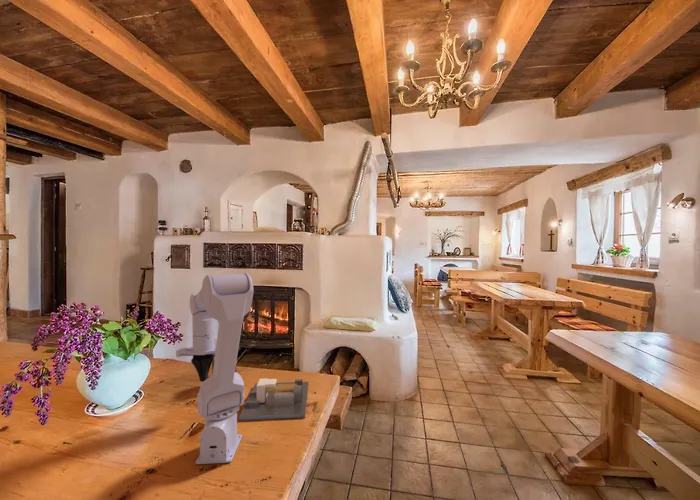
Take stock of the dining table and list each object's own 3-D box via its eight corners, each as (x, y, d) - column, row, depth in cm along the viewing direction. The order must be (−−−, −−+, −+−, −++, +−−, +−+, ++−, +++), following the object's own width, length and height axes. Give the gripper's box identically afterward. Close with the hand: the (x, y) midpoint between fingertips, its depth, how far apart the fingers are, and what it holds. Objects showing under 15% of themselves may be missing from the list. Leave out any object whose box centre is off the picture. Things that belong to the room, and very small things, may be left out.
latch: (274, 401, 91) (274, 385, 91) (256, 402, 91) (256, 385, 91) (277, 394, 96) (277, 377, 96) (260, 394, 95) (260, 378, 95)
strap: (299, 390, 93) (299, 386, 93) (265, 392, 92) (265, 389, 92) (300, 385, 95) (300, 382, 95) (267, 388, 95) (267, 385, 95)
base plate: (304, 417, 85) (304, 397, 85) (238, 420, 84) (238, 400, 84) (308, 384, 105) (308, 368, 105) (255, 387, 104) (255, 370, 104)
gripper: (233, 329, 91) (233, 372, 91) (184, 330, 90) (184, 374, 90) (225, 336, 84) (225, 383, 84) (172, 337, 83) (172, 385, 83)
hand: (203, 379), depth 87 cm, fingers closed
